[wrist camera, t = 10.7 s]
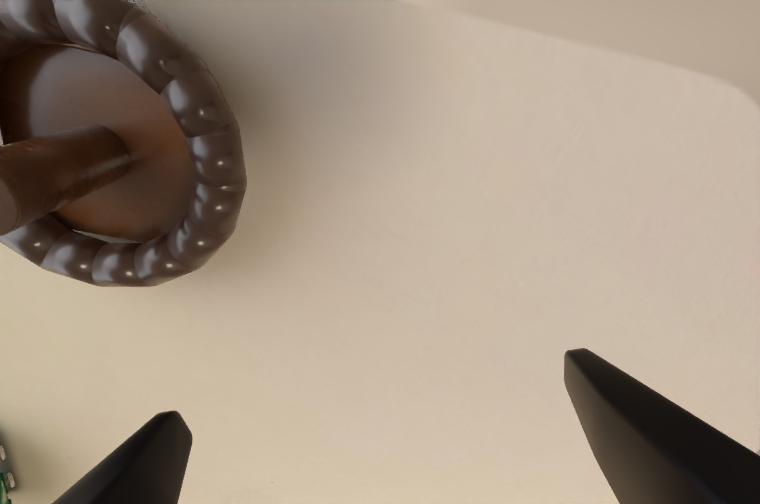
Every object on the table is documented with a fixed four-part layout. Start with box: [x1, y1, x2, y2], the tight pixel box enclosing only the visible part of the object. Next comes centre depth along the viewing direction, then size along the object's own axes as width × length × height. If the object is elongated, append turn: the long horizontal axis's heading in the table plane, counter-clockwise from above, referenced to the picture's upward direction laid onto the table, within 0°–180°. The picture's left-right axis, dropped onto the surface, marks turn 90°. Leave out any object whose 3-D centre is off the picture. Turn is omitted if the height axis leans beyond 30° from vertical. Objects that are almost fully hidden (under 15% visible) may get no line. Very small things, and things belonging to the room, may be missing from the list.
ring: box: [0, 0, 247, 287], centre depth 16 cm, size 12×12×2 cm
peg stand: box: [0, 44, 195, 243], centre depth 15 cm, size 8×8×7 cm
